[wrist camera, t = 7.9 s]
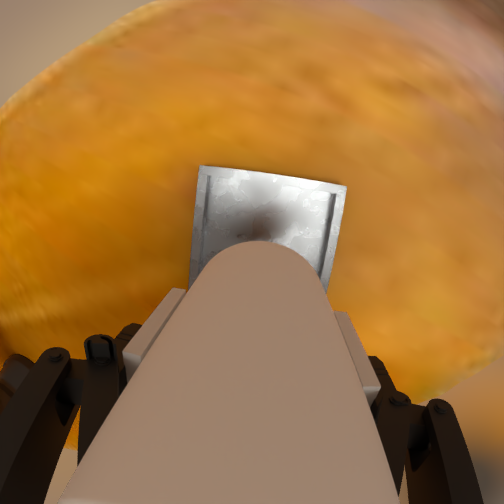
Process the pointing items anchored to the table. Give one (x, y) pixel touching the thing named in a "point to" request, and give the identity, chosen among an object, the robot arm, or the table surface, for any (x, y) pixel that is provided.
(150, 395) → the cup
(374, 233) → the table surface
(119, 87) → the table surface
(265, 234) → the square metal tray
